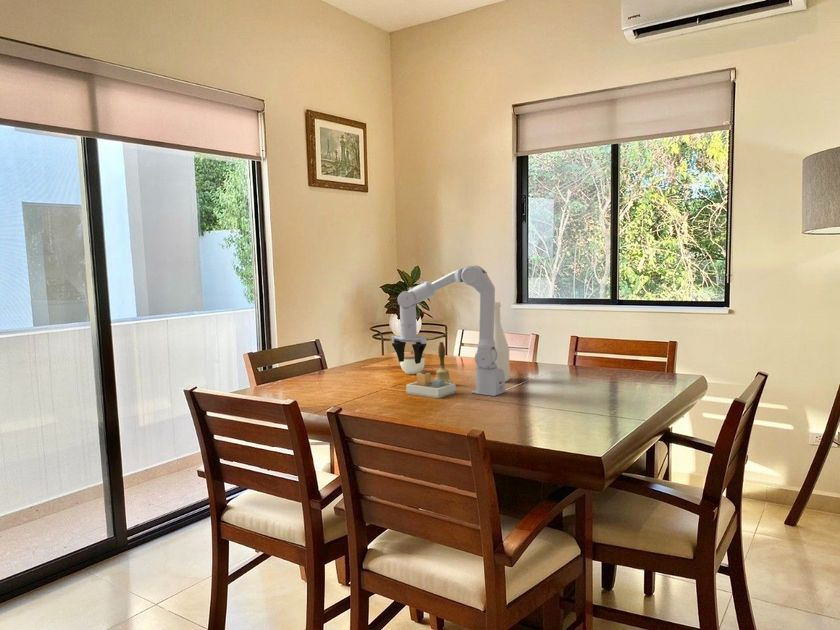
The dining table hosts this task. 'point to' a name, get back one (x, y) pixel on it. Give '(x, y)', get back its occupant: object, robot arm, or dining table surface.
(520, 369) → the dining table surface
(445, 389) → the box
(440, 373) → the hand bell
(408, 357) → the lidded jar
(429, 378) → the tan wooden block
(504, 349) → the wine bottle
